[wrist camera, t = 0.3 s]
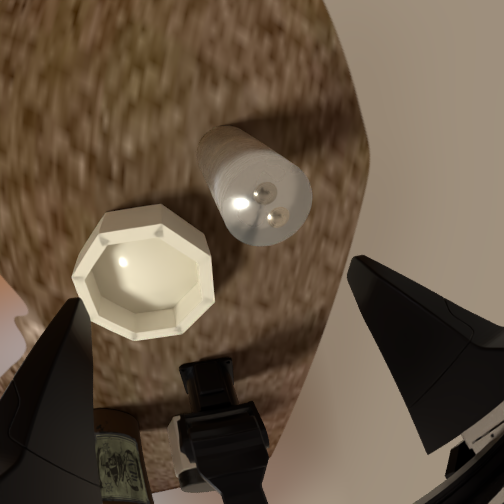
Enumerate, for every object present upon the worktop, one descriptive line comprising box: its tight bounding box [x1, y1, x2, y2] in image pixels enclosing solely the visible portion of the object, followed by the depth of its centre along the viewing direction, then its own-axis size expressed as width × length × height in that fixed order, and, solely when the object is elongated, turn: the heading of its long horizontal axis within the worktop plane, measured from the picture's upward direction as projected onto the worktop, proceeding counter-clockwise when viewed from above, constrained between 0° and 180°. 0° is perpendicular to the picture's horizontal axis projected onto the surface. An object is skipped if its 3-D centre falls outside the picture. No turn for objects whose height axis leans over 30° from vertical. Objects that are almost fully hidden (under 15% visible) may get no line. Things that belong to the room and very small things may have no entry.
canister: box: [196, 125, 312, 246], centre depth 18 cm, size 4×4×10 cm
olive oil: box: [93, 409, 154, 504], centre depth 27 cm, size 11×11×25 cm
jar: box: [167, 416, 215, 493], centre depth 37 cm, size 9×8×12 cm
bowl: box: [71, 204, 215, 341], centre depth 23 cm, size 11×11×4 cm
